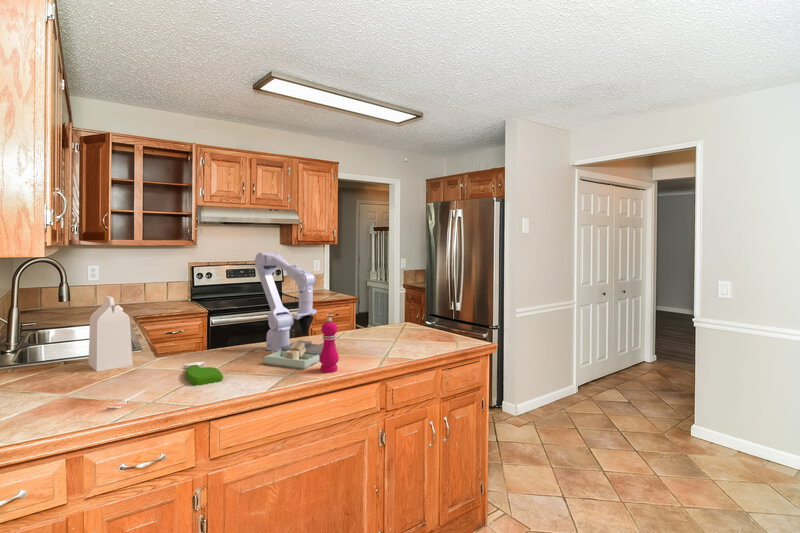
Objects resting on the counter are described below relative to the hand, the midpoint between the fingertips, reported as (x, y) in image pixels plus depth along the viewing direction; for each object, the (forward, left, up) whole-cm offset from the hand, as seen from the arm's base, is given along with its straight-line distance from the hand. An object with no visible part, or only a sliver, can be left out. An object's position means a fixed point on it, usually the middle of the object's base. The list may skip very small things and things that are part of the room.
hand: (305, 333), depth 186 cm
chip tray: (+1, -12, -9) cm, 15 cm away
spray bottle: (-20, -37, -10) cm, 44 cm away
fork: (-22, -64, -10) cm, 68 cm away
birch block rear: (+2, -7, -7) cm, 10 cm away
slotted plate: (+1, +1, -9) cm, 9 cm away
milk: (-60, -41, -10) cm, 73 cm away
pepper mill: (+19, -15, -10) cm, 26 cm away
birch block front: (+1, -10, -7) cm, 12 cm away
